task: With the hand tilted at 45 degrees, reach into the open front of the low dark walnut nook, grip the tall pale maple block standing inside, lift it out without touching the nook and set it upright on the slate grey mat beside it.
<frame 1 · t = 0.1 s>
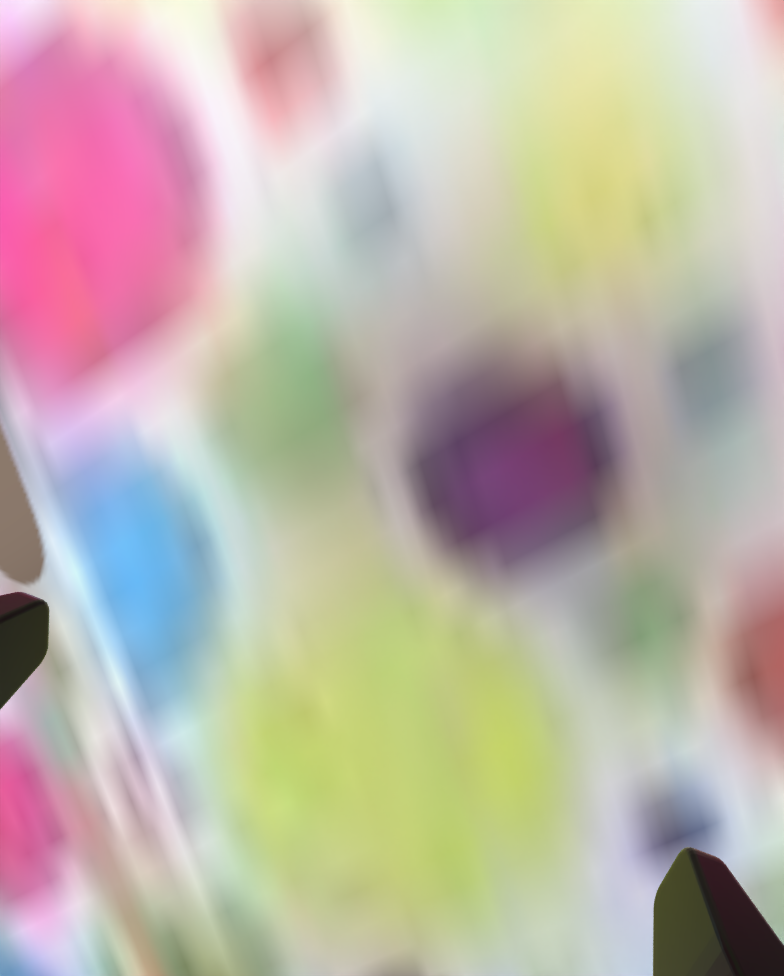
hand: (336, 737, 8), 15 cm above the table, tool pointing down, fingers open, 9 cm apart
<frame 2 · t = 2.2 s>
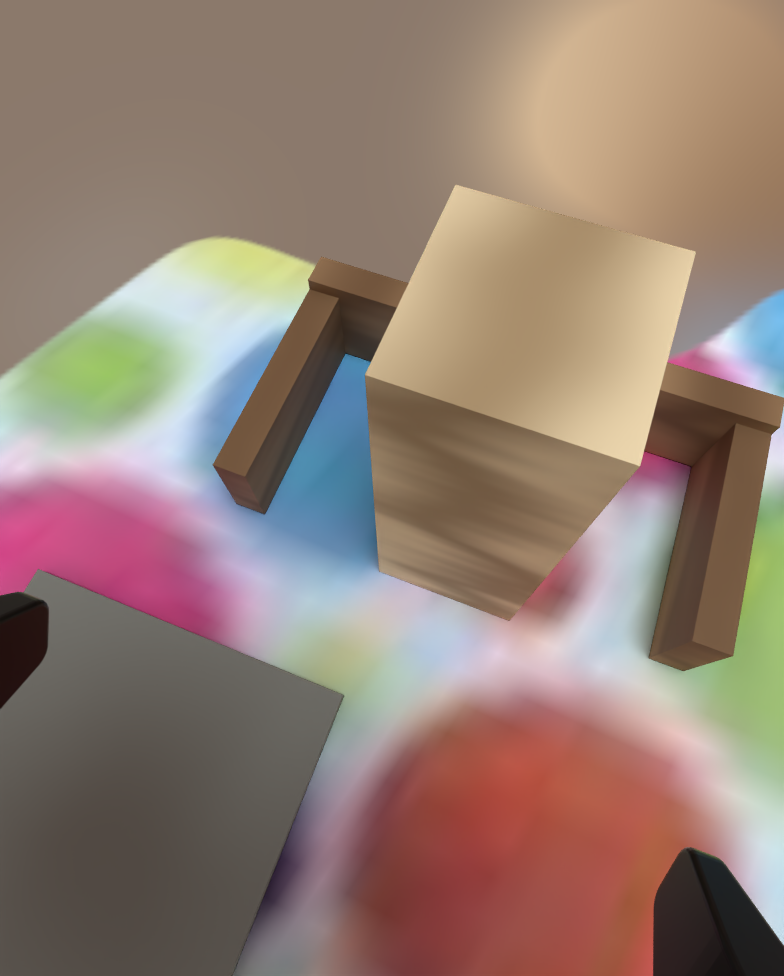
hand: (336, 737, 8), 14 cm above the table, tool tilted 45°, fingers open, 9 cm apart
nook: (465, 534, 24), on the table
mat: (97, 807, 20), on the table
maple block: (489, 460, 18), in the nook
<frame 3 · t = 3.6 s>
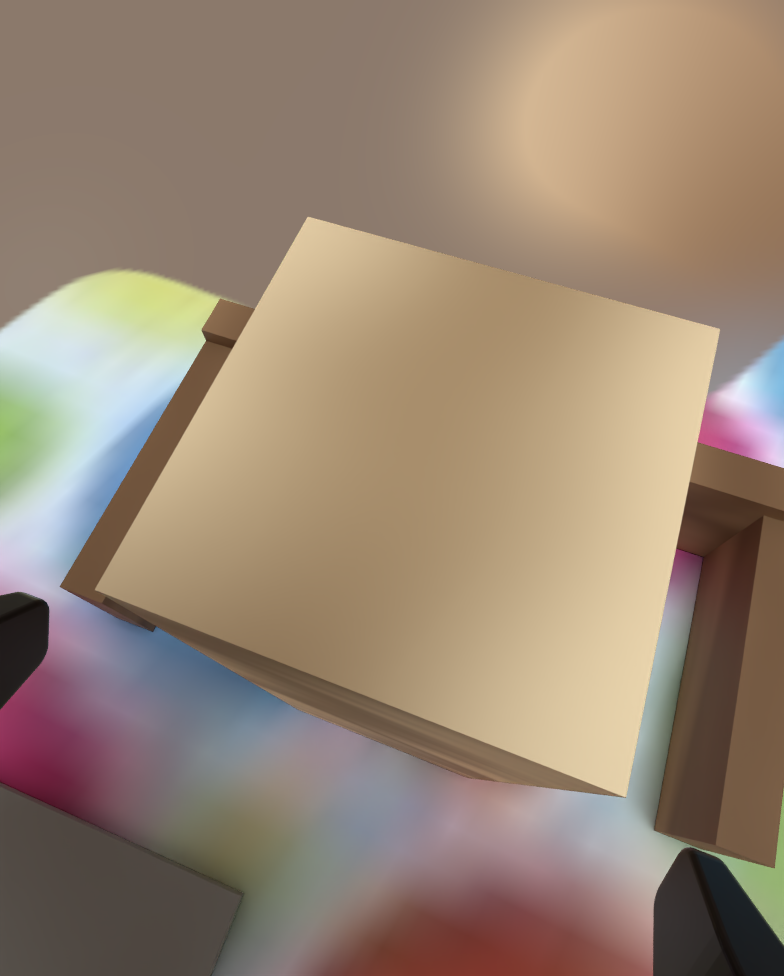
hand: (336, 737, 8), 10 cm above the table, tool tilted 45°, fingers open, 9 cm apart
nook: (411, 655, 18), on the table
maple block: (417, 601, 12), in the nook
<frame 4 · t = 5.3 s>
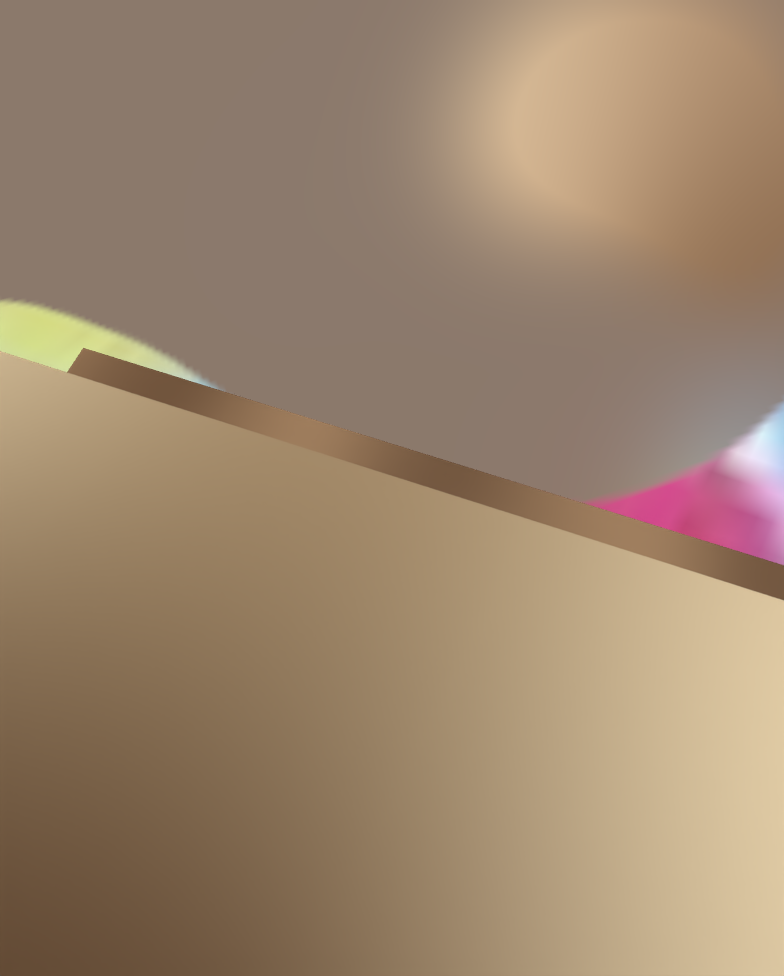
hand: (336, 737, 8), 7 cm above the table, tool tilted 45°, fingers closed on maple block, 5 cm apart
nook: (339, 815, 14), on the table
maple block: (294, 849, 8), in the nook, touching gripper
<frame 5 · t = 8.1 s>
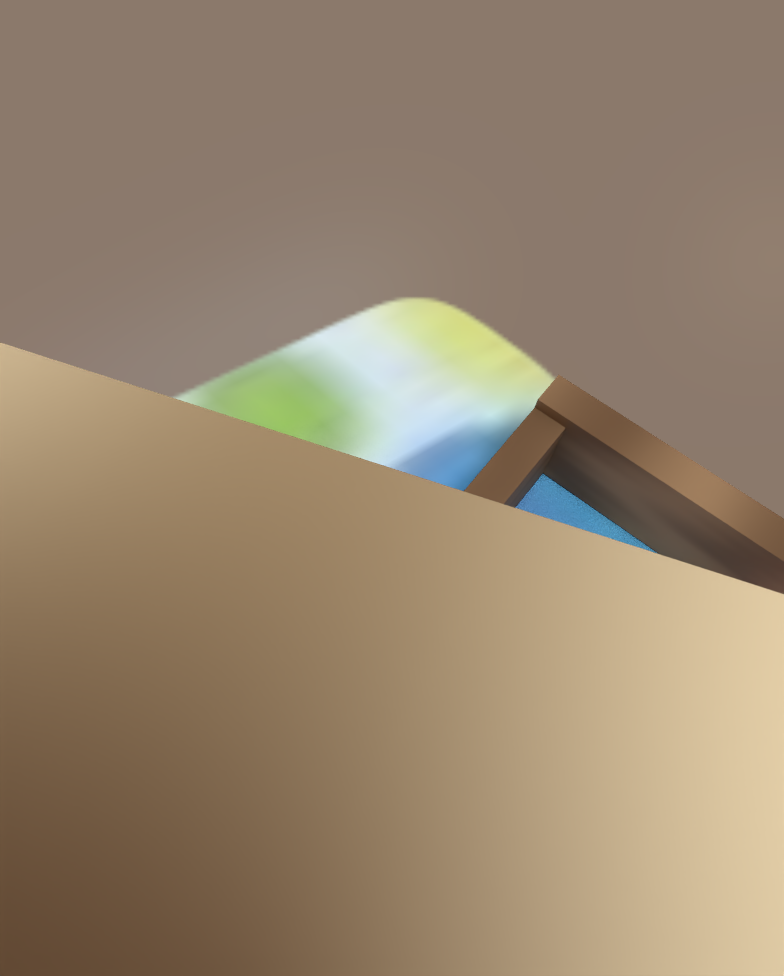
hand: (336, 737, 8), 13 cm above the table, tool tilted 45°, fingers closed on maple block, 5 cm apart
nook: (632, 739, 20), on the table
maple block: (299, 847, 8), point 12 cm above the table, touching gripper
when the fingers open (8 cm above the table, at t = 10.6 s): maple block stays where it is, resting on mat.
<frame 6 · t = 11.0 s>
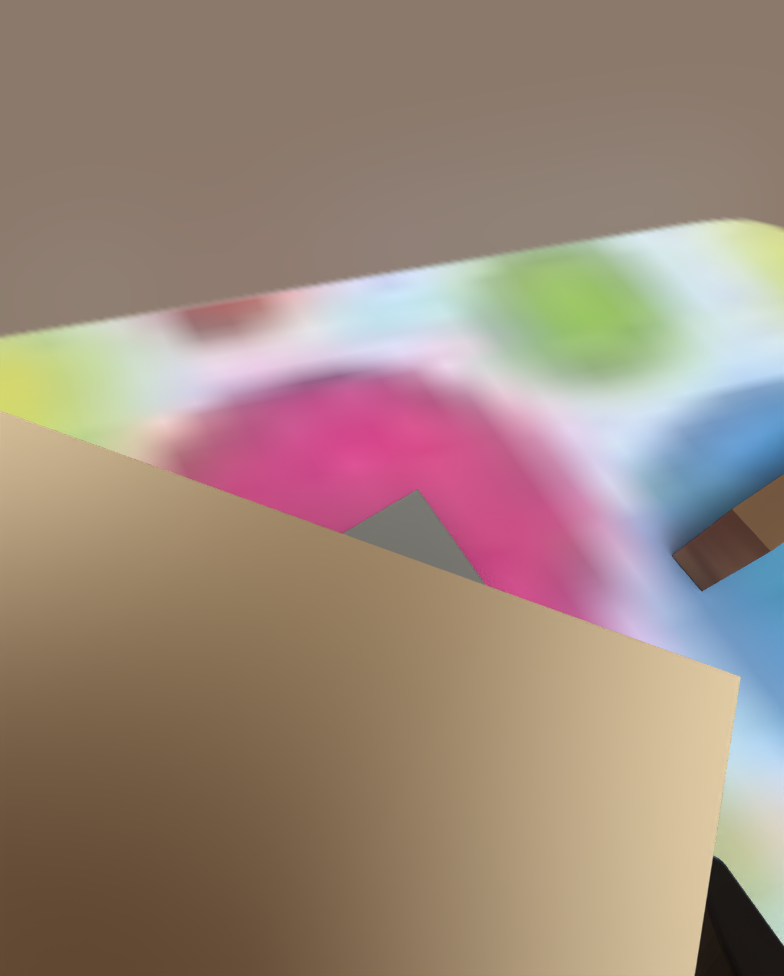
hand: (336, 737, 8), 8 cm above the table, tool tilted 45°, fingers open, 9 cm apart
mat: (345, 810, 15), on the table
maple block: (307, 843, 9), on the mat
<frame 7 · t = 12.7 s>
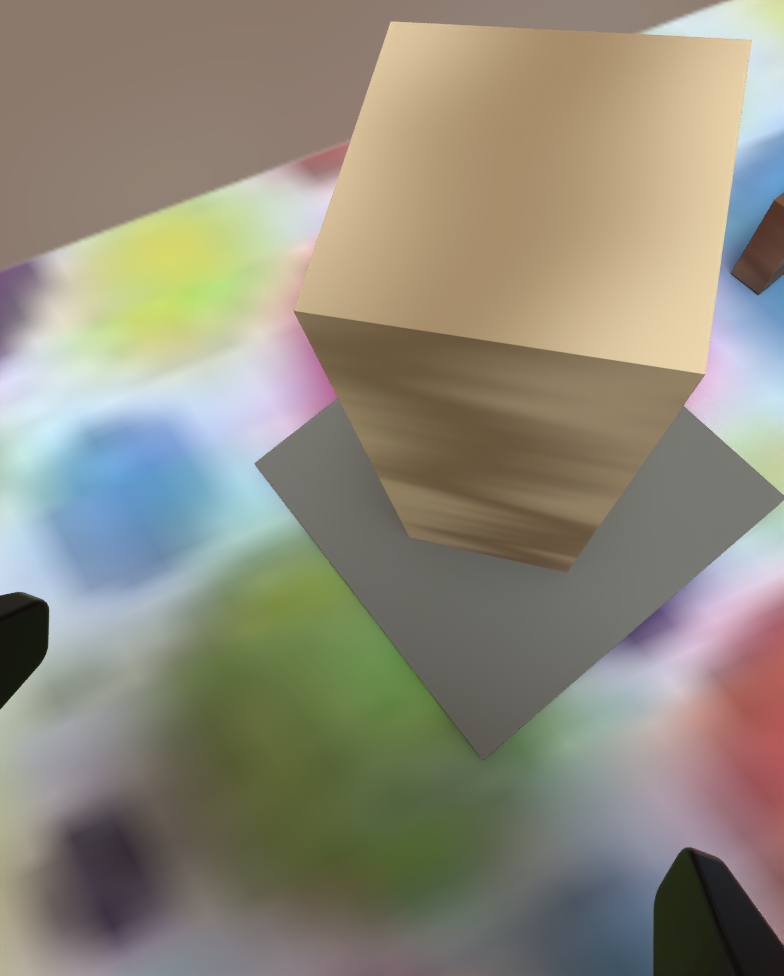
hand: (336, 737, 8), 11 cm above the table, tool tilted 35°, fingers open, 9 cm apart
mat: (501, 483, 21), on the table
maple block: (509, 392, 14), on the mat
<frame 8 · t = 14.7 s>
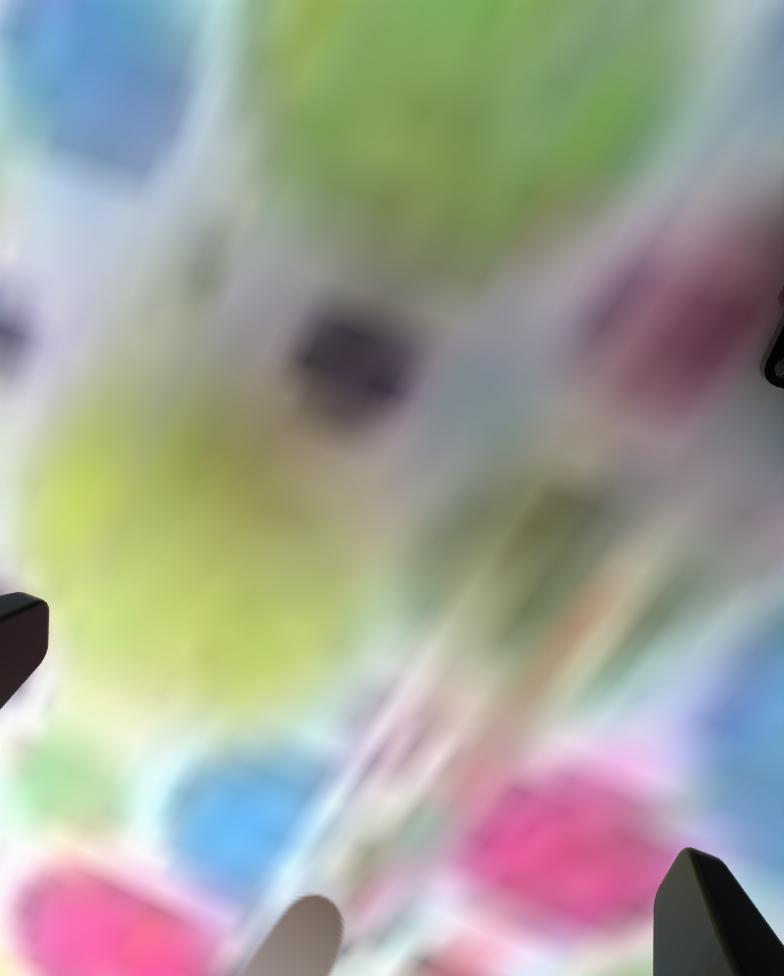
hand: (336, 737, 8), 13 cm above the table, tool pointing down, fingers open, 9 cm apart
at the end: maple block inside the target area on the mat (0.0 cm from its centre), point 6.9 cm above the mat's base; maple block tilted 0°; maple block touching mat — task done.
